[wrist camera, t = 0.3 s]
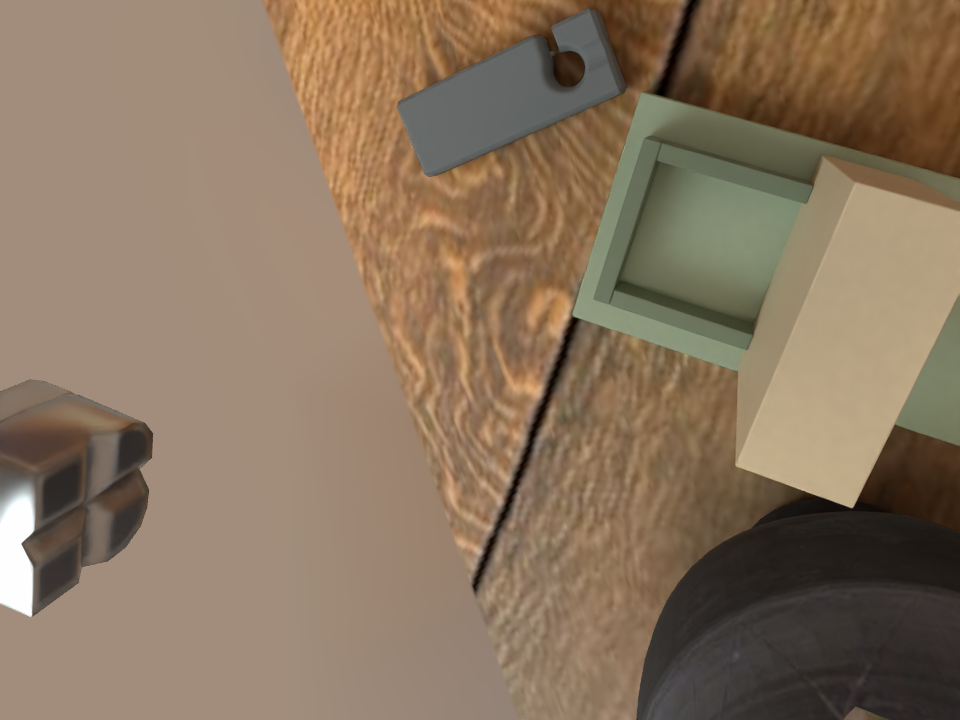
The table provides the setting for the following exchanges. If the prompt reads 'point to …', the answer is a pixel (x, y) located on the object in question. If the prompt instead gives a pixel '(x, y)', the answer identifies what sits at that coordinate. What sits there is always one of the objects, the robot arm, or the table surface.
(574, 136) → the table surface
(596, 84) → the bracket
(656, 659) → the pitcher
